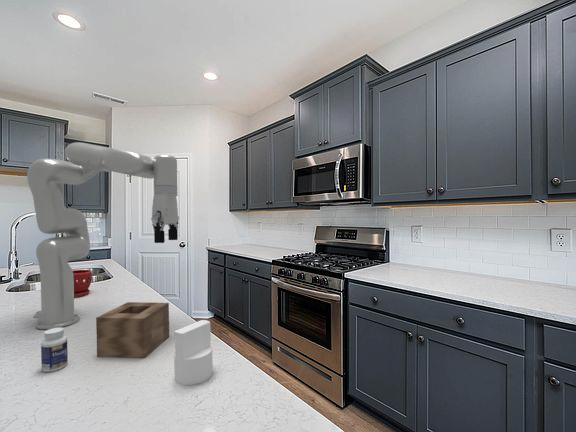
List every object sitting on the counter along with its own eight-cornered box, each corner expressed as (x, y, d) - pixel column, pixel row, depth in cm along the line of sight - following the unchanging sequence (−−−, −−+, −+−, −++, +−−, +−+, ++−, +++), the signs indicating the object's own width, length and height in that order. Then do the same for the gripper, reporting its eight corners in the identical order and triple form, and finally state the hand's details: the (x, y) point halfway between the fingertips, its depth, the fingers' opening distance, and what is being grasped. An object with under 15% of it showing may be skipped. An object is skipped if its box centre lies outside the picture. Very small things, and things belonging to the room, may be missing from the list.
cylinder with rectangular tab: (191, 389, 66) (190, 337, 66) (166, 378, 71) (165, 328, 71) (220, 371, 74) (219, 323, 74) (196, 361, 79) (195, 317, 79)
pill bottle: (53, 373, 73) (52, 335, 73) (36, 371, 75) (35, 333, 74) (73, 362, 79) (72, 327, 79) (56, 361, 80) (55, 325, 80)
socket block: (97, 356, 82) (96, 317, 82) (128, 335, 96) (127, 302, 96) (144, 358, 81) (143, 318, 81) (169, 336, 95) (168, 302, 95)
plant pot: (80, 299, 138) (79, 273, 138) (52, 299, 138) (51, 274, 138) (98, 291, 151) (97, 268, 151) (73, 291, 151) (72, 268, 151)
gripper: (167, 193, 110) (167, 239, 110) (141, 190, 92) (142, 244, 93) (186, 193, 109) (187, 239, 109) (164, 189, 92) (165, 244, 92)
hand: (166, 241), depth 101 cm, fingers open, 9 cm apart
